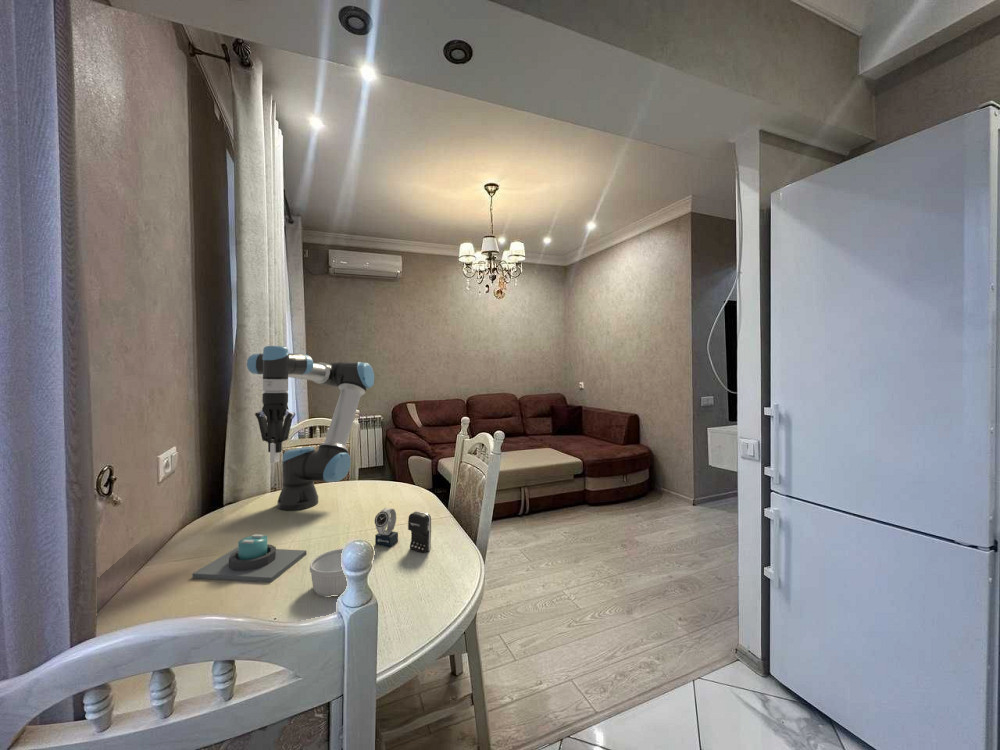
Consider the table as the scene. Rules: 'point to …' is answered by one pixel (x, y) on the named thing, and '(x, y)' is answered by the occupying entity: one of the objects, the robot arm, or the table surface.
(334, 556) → the ramekin
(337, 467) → the robot arm
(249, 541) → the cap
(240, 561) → the plate with oval ring
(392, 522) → the watch
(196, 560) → the table surface
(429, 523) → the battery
